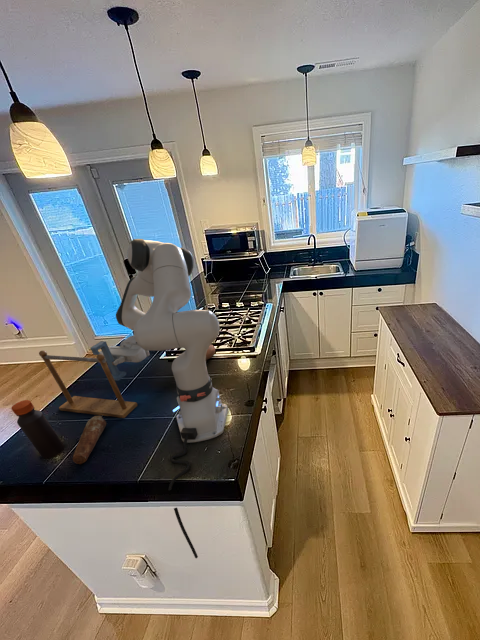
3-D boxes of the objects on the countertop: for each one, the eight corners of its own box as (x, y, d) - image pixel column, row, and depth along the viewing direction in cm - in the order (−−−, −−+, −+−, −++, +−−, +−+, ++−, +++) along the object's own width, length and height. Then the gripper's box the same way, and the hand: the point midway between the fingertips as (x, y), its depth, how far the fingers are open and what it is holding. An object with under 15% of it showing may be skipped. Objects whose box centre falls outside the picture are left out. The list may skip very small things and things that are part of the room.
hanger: (116, 373, 136) (101, 339, 127) (126, 374, 135) (111, 339, 126) (104, 382, 130) (87, 347, 121) (114, 383, 129) (98, 348, 120)
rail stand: (137, 405, 125) (113, 349, 111) (124, 418, 118) (96, 360, 105) (75, 398, 133) (45, 345, 119) (60, 410, 126) (26, 355, 112)
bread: (109, 425, 115) (103, 413, 112) (89, 465, 100) (81, 452, 96) (92, 428, 115) (85, 416, 112) (68, 468, 99) (60, 455, 96)
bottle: (69, 445, 108) (39, 399, 97) (52, 460, 103) (18, 412, 91) (54, 443, 110) (23, 397, 99) (37, 457, 104) (1, 410, 93)
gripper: (109, 340, 141) (86, 355, 130) (148, 342, 136) (127, 358, 125) (114, 353, 144) (92, 368, 133) (153, 355, 139) (133, 371, 128)
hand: (109, 363), depth 129 cm, fingers closed on hanger, 2 cm apart
